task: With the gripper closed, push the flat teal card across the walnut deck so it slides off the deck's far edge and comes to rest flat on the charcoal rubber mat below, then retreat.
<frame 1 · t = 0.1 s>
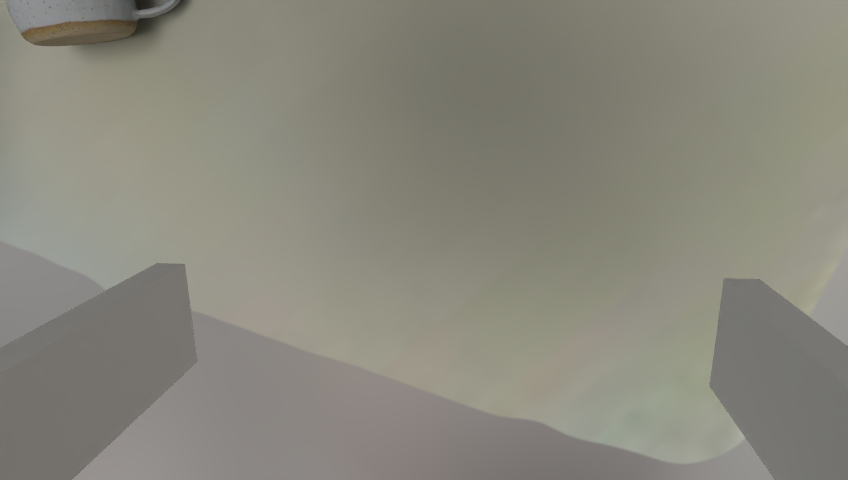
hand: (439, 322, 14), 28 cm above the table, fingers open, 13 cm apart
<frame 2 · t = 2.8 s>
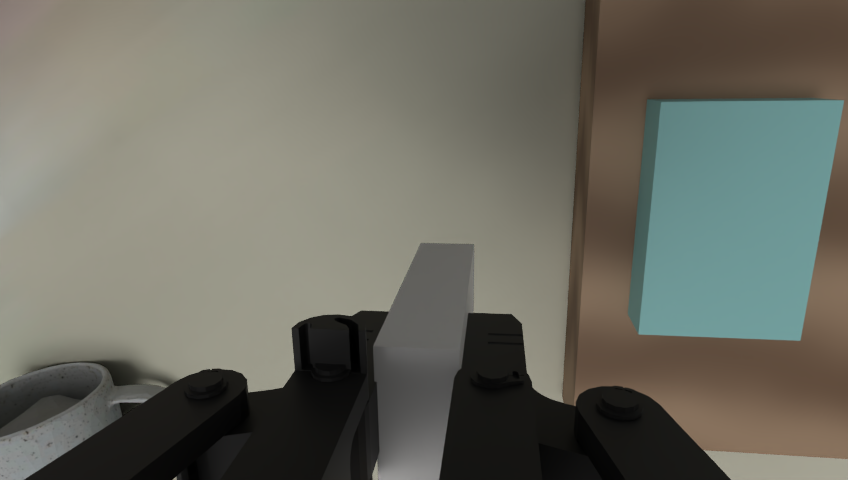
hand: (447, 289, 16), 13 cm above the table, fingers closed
ceramic mug: (118, 412, 35), on the table
deck: (728, 194, 27), on the table
card: (714, 213, 23), point 4 cm above the table, touching deck
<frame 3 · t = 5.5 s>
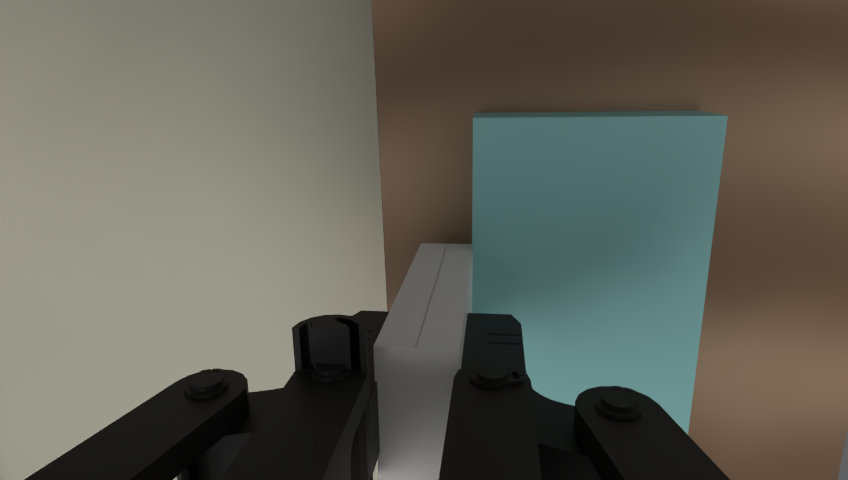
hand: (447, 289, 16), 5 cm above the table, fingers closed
deck: (596, 230, 21), on the table
card: (575, 266, 17), point 4 cm above the table, touching gripper
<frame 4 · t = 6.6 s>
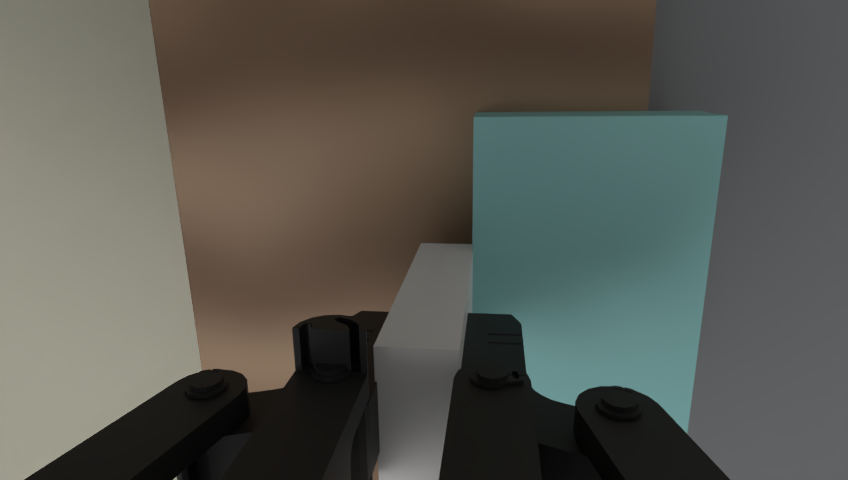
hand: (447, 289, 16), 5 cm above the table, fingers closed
deck: (417, 230, 22), on the table
card: (575, 266, 17), point 4 cm above the table, touching gripper
mat: (788, 232, 20), on the table
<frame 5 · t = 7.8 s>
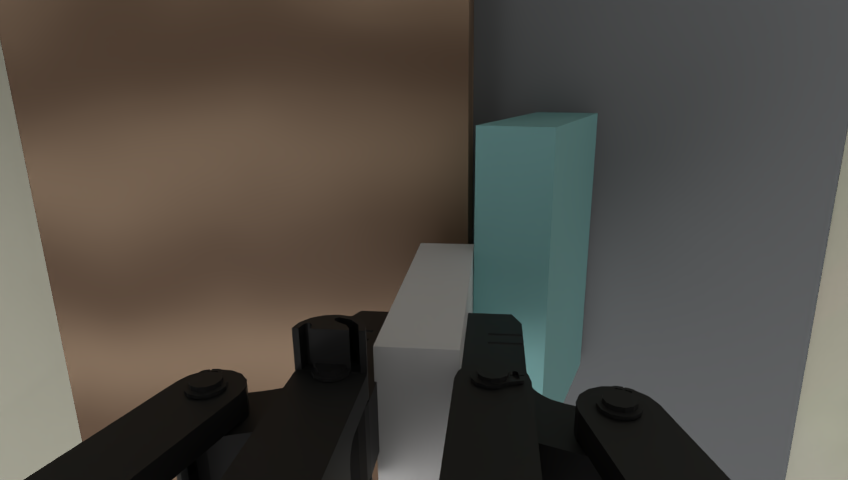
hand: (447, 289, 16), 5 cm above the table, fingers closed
deck: (290, 234, 22), on the table
card: (506, 263, 18), point 3 cm above the table, tilted 72°, touching mat
mat: (641, 239, 21), on the table
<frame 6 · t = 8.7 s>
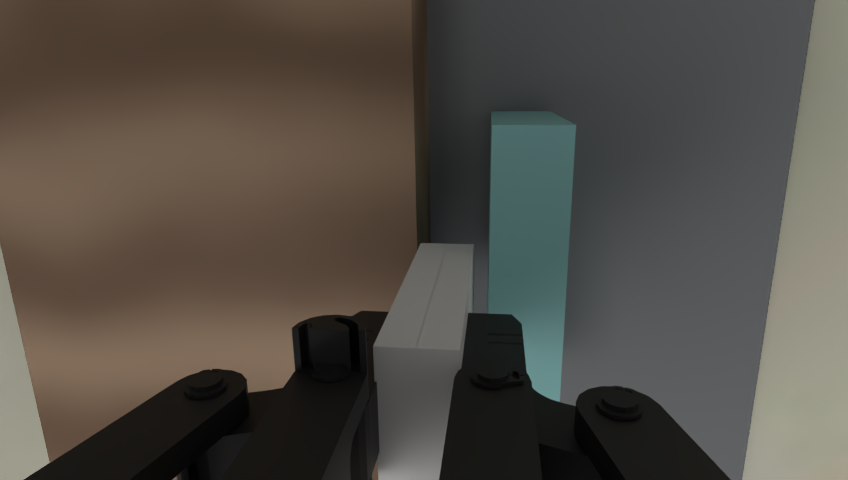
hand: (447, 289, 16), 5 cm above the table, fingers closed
deck: (251, 232, 22), on the table
card: (488, 263, 18), point 3 cm above the table, tilted 91°, touching mat
mat: (596, 237, 21), on the table
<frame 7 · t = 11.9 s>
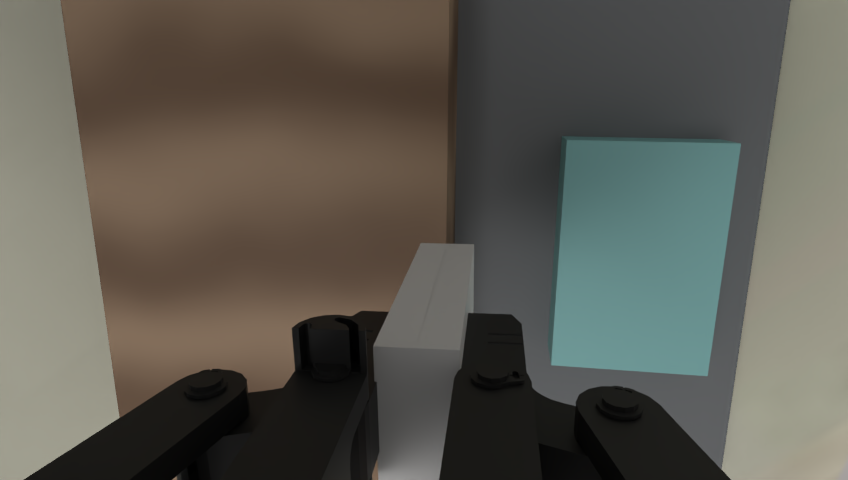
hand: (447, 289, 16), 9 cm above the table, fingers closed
deck: (299, 234, 26), on the table
card: (639, 261, 22), point 2 cm above the table, tilted 180°, touching mat
mat: (597, 244, 24), on the table
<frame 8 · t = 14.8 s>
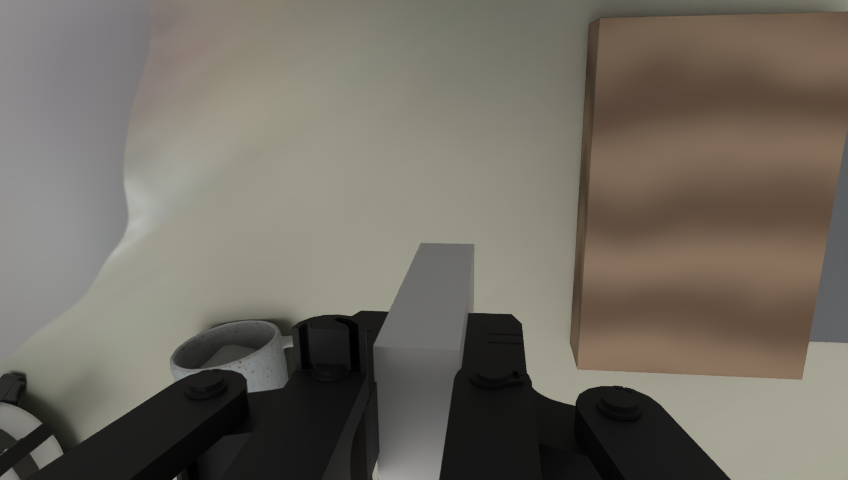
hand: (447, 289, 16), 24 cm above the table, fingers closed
ceramic mug: (273, 359, 46), on the table
deck: (686, 196, 39), on the table
coffee press: (31, 434, 51), on the table
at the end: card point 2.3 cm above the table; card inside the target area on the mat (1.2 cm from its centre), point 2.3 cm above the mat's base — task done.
